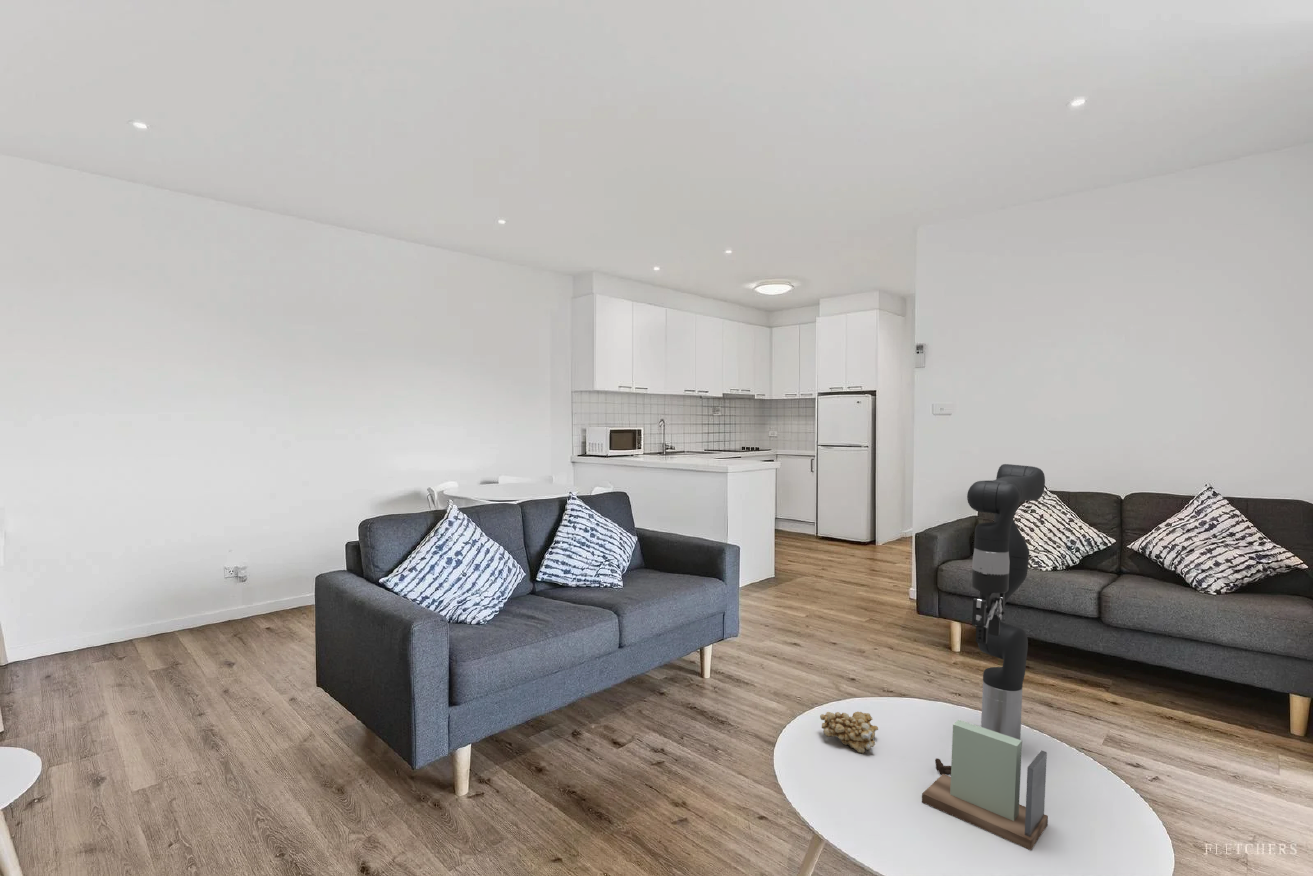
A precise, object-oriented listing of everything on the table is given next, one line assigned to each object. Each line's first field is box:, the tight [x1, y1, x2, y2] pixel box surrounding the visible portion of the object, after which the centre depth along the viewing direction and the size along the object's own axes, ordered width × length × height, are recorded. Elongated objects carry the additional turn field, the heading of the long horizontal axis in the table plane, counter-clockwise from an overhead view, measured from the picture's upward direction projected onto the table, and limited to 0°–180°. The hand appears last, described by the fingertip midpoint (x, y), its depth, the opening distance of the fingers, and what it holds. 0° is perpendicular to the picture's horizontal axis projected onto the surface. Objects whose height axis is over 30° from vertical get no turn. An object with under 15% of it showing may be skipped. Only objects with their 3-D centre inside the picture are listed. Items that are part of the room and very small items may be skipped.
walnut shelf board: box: [921, 774, 1049, 851], centre depth 141 cm, size 12×22×2 cm, turn 45°
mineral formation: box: [819, 711, 879, 754], centre depth 172 cm, size 8×13×15 cm
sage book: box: [950, 719, 1023, 821], centre depth 141 cm, size 4×13×16 cm, turn 45°
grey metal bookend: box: [1025, 750, 1048, 837], centre depth 134 cm, size 10×1×14 cm, turn 135°
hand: (987, 639), depth 148 cm, fingers open, 8 cm apart
